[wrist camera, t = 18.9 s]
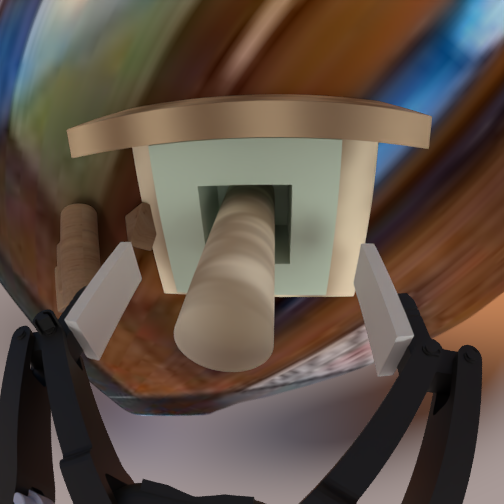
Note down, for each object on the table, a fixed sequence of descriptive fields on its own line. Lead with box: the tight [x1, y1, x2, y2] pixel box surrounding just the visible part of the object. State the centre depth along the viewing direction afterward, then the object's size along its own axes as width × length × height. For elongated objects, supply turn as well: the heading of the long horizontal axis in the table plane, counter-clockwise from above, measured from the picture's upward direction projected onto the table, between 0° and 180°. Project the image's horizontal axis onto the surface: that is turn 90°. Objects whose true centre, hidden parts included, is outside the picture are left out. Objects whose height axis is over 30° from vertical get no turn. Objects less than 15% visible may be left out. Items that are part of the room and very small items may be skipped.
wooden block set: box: [55, 202, 156, 312], centre depth 28 cm, size 18×9×10 cm
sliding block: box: [148, 137, 342, 295], centre depth 23 cm, size 12×12×7 cm
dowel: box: [174, 185, 275, 372], centre depth 18 cm, size 4×4×16 cm
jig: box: [67, 94, 432, 297], centre depth 23 cm, size 22×21×10 cm
